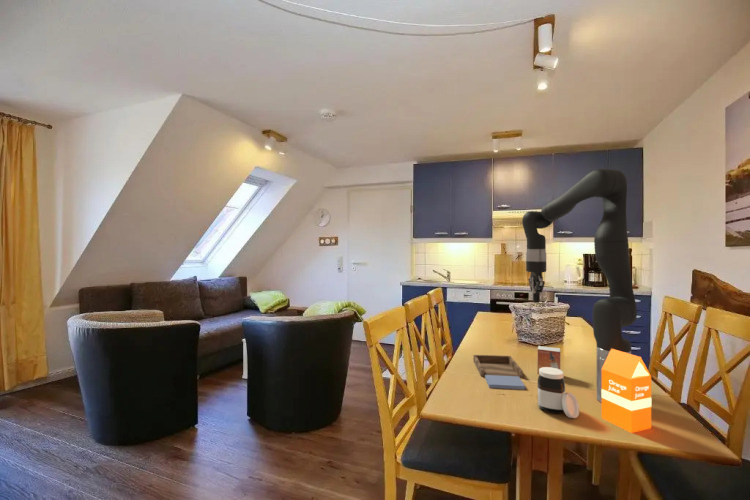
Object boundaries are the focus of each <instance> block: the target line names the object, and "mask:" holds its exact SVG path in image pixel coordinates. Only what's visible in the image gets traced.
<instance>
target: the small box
mask: <svg viewBox="0 0 750 500" xmlns="http://www.w3.org/2000/svg"><path fill="white" fill-rule="evenodd" d="M536 363H537V367H536V368H537V372H536V373H537V375H540V374H539V369H540V368H542V367H552V368H557V369H560V370H561V348H559V347H552V346H551V347H549V346H543V345H542V346H541V345H538V347H537V362H536Z"/></svg>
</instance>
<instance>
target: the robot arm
mask: <svg viewBox="0 0 750 500" xmlns="http://www.w3.org/2000/svg"><path fill="white" fill-rule="evenodd" d="M627 194H628V180H627V177H626V175H625V173H623V172H622V171H621V170H619V169H611V168H610V169H609V168H607V169H606V168H596V169H594V170H591V171H590V172H589V173H587V174H586V175H585V176H583V177H582V178H581V179H580V180H579V181H578V182H576V183H575V184H574V185H573V186H571V187H570V188H569V189H567V191H566V192H564V193H563V194H560V195H559V196H558V197H556V198H554V199H553V200H551V201H549V202H548V203H546V204H544V205H543V206H542V207H541V210H540V211H537V210H536V211H535V210H533V211H532V210H530V211H526V212H525V213H524V214H523V215H522V219H521V223H522V228H523V231H524V235H525V238H526V254H525V255H526V257H525V260H526V261H525V265H526V266H525V268H526V269H525V271H526V272H527V273H530V275H529V278H528V285H529V289H530V292H531V293H532V302H533V303H534V304H535V303H536V304H540V303H541V299H540V297H541V295H540V294H542V293H543V290H544V287H545V284H546V281H545V280H544V277H543V274H542V273H546V272H547V250H546V246H547V244H546V240H547V239H546V236H545V235H544V234H541V233H539V231H538V229H539V230H540V229H546V228H548V227H550V226H551V225H552V224H553V223H554V222H555V221H556V220H559V219H560V218H562V217H564V216H566V215H567V214H569V213H571V212H572V211H573V209H575V207H576V206H577V205H578V204H579V203H581V202H583V201H586V200H587V199H591V198H601V199H602V203H603V206H602V207H603V213H602V218H601V220H600V223H599V225H598V226H597V229H596V232H595V235H594V238H593V240H594V241H593V243H594V256H595V261H596V262H597V264H598V266H599V268H600V270H601V272H602V273H603V275H604V276H605V278H606V280H607V284H608V288H609V289H608V290H609V298H601V299H599V300H596V302H594V305H593V307H592V331H593V337H594V339H595V342H596V400H597V401H598V402H600V403H601V404H602V367H603V365H604V363H605V361H606V359H607V357H608V355H609V353H610V350H611V349H615V350H618V351H622V352H625V353H628V354H632V342H631V341H630V340H628V339H626V338H624V337H623V335H622V328H623V327H629V326H631V325H633V324H634V323H635V322H636V321H637V318H638V308H637V303H636V298H635V294H634V287H633V282H632V271H631V265H630V247H629V246H630V245H629V244H630V243H629V237H628V224H627V223H628V221H627V199H628V198H627Z"/></svg>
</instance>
